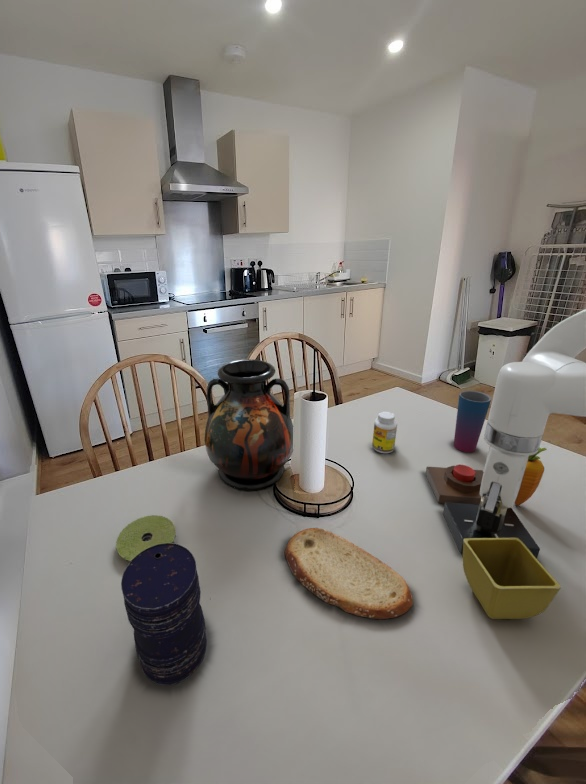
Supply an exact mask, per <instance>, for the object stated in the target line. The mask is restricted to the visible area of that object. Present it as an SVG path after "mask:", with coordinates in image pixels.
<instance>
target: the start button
mask: <svg viewBox="0 0 586 784" xmlns="http://www.w3.org/2000/svg"><path fill="white" fill-rule="evenodd" d="M454 466H455V467H454V470H453V476H454V477H455V478H456V479H458V480H460V481H463V482H472V481H474V477H475V471H474V470H475V469H473V468H472V467H470V466H468V465H465V464H456V465H454Z"/></svg>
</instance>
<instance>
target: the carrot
mask: <svg viewBox="0 0 586 784" xmlns="http://www.w3.org/2000/svg"><path fill="white" fill-rule="evenodd" d="M544 451H547V448H546V447H540V446H539V450H538V452H537V453H536V454H534V455H530V456H529V457H528V461H527V465H526V469H525V472H524V475H523V479H522V482H521V486H520V489H519V492H518V495H517V497H516V500H515V503H514V505H515V506H521V505H522V504H525V502H527V501H528V500H529V499H530V498H532V496H533V495H534V493H535V492H536V490H537V489H538V487H539V485H540V483H541V480H542V478H543V475H544V473H545V466H544V464H543V462H542V460H540V459H541V456H537V455H539V454H540V453H542V452H544Z"/></svg>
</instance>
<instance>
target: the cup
mask: <svg viewBox="0 0 586 784" xmlns="http://www.w3.org/2000/svg"><path fill="white" fill-rule="evenodd" d="M491 403H492V397H491V396H490V395H489V394H487V393H485V392H482V391H478V390H462V391H460V392H459V394H458V402H457V411H456V412H457V413H456V419H455V428H454V437H453V447H454V448H455V449H456V450H458V451H460V452H462V453H473V452H475V451H476V449H477V446H478V442H479V440H480V436H481V433H482V430H483V427H484V424H485V421H486V417H487V414H488V412H489V408H490V406H491Z"/></svg>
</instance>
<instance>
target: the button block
mask: <svg viewBox="0 0 586 784" xmlns="http://www.w3.org/2000/svg"><path fill="white" fill-rule="evenodd" d="M455 466H456V465H451V466H447V467H443V466H442V467H441V466H439V467H438V466H426V468H425V473H424V474H425V477H426V479H427V481H428V483H429V485H430V488H431V490H432V492H433V495H434V497H435V499H436V501H437V503H438V504H443V505H445V502H451V503H463V504H475V505H480V501H481V496H480V488H481V482H482V477H483V473H484V469H473V470H474V471H475V477H474V481H472V482H463V481H460V480H458V479H456V478H455V477H454V476H453V470H454V467H455Z"/></svg>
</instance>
